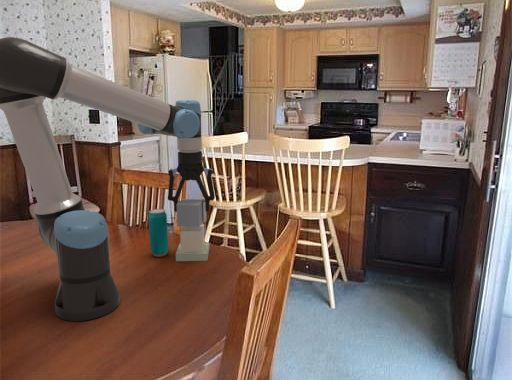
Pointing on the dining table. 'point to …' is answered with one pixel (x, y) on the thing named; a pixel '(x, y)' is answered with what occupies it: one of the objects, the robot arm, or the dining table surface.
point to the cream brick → (192, 239)
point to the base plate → (192, 254)
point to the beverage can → (158, 232)
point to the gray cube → (190, 212)
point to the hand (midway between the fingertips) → (192, 220)
